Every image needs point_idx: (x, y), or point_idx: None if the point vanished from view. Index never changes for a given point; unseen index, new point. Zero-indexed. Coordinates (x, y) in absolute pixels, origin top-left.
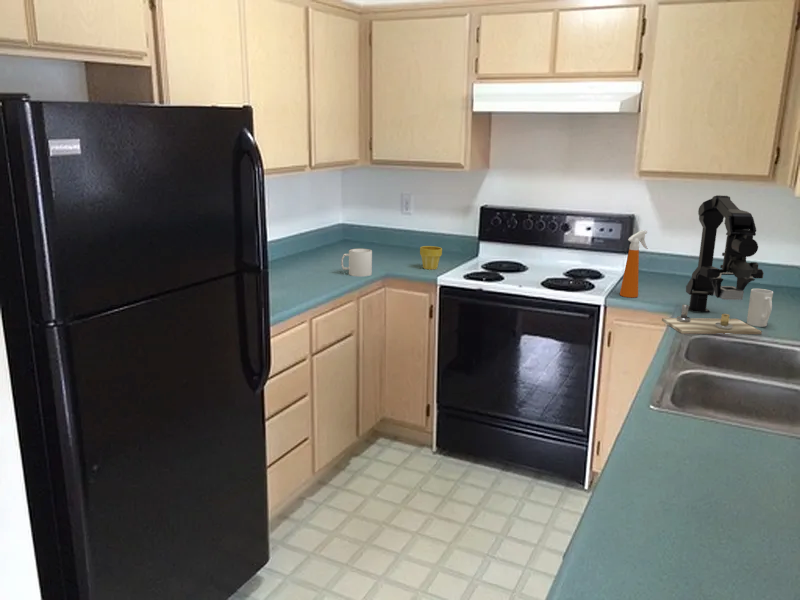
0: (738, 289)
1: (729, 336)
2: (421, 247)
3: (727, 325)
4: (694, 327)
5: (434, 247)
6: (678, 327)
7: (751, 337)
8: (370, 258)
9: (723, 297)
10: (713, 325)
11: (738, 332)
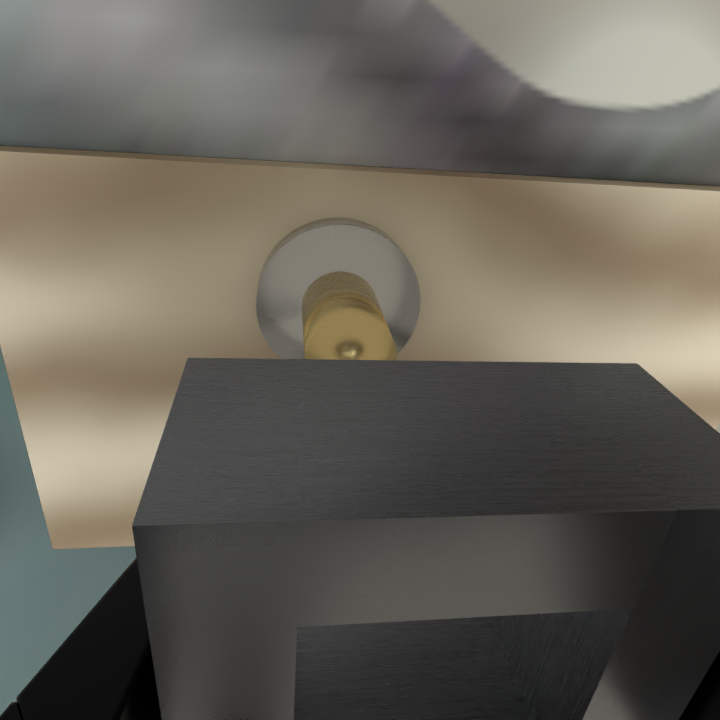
0: (236, 653)
1: (396, 75)
2: None
3: (322, 276)
4: (623, 296)
5: None
6: None
7: (151, 17)
8: None
9: (661, 391)
10: (398, 358)
11: (245, 162)
